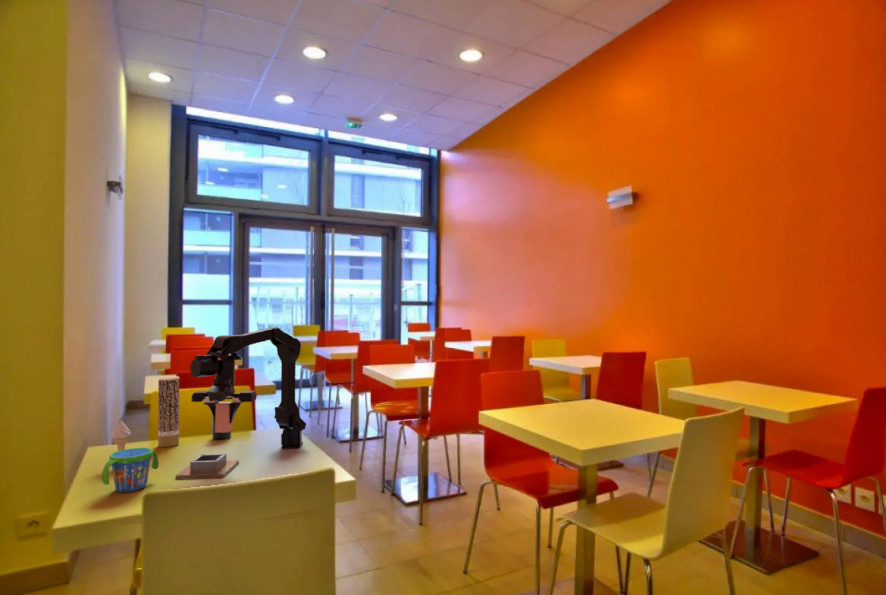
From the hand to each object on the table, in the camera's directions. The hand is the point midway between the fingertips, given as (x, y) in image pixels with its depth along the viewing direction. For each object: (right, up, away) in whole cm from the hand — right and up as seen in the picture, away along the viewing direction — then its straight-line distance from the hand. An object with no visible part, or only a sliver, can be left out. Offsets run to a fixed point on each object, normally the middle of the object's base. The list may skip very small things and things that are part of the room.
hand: (223, 423), depth 164 cm
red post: (0, -3, 0) cm, 2 cm away
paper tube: (-31, -14, +24) cm, 42 cm away
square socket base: (-3, -14, -5) cm, 15 cm away
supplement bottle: (-16, -15, +34) cm, 40 cm away
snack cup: (-18, -14, -20) cm, 30 cm away
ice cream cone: (-33, -14, 0) cm, 36 cm away
